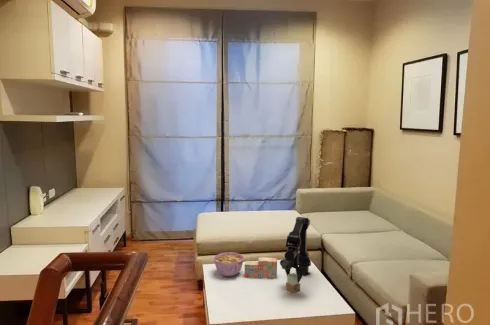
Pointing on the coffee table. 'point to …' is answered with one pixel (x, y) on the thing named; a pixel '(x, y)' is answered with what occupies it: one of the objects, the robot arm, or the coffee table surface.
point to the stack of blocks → (261, 268)
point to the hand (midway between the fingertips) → (293, 279)
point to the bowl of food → (228, 263)
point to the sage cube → (292, 279)
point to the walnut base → (292, 288)
